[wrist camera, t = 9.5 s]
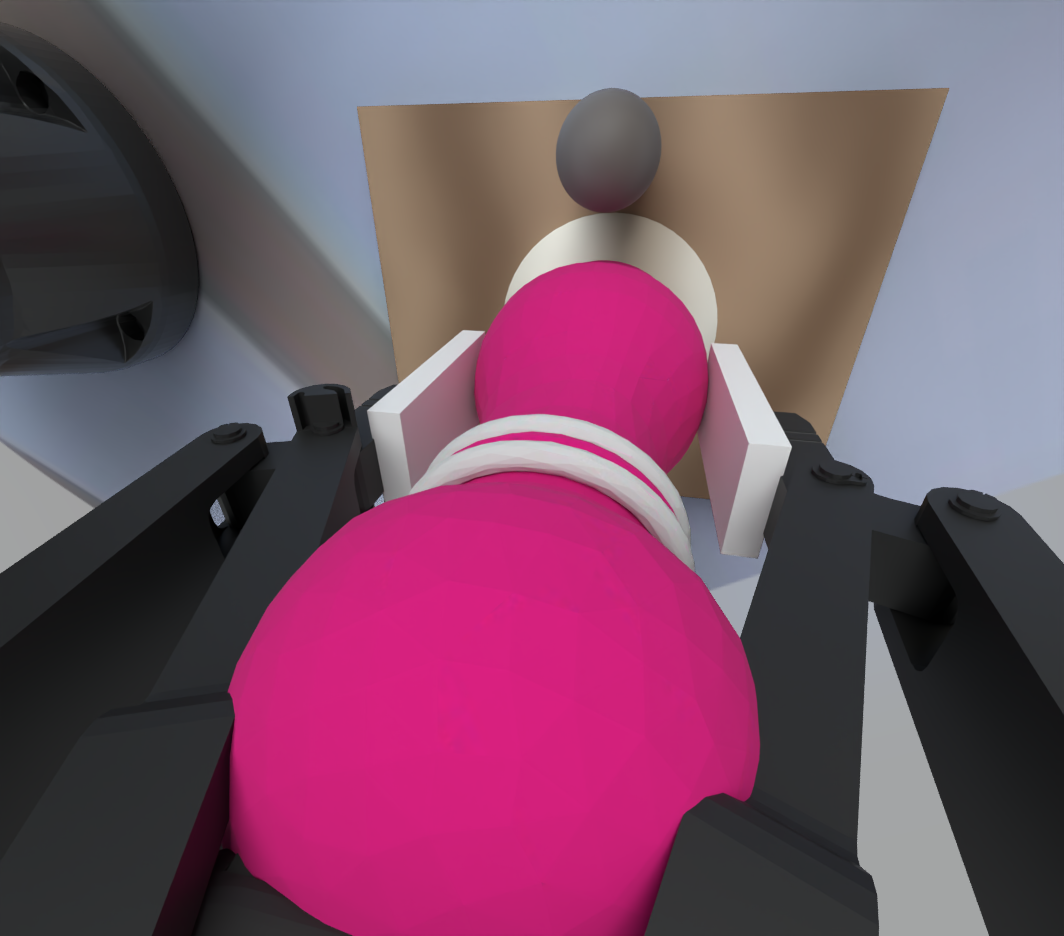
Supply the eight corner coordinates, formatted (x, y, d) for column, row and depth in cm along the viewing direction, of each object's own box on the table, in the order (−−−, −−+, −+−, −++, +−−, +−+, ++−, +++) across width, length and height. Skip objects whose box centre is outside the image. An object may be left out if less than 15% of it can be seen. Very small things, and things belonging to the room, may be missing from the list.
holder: (422, 454, 28) (346, 548, 21) (375, 111, 20) (224, 74, 13) (795, 492, 25) (855, 619, 17) (926, 94, 16) (1138, 32, 9)
